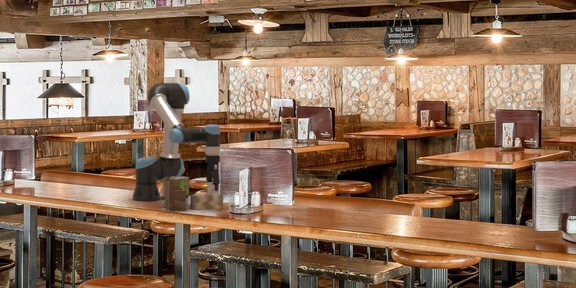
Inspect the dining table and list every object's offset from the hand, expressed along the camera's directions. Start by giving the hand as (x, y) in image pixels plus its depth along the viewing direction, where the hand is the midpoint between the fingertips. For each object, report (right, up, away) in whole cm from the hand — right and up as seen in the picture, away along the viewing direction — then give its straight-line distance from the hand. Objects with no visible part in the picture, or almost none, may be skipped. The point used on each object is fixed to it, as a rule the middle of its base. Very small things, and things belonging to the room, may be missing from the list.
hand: (212, 196), depth 455 cm
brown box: (-19, -6, -5) cm, 20 cm away
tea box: (-20, -6, +11) cm, 24 cm away
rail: (-3, -6, 0) cm, 7 cm away
